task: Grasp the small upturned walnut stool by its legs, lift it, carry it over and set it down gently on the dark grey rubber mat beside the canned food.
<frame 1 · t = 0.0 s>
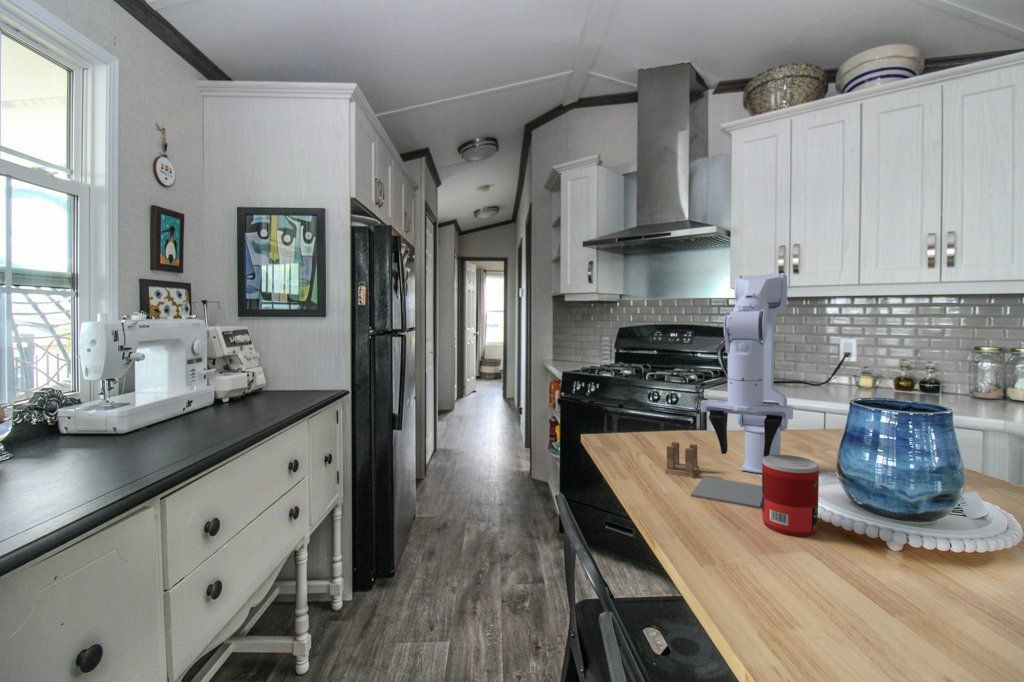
hand: (745, 455, 85), 10 cm above the kitchen island, tool pointing down, fingers open, 6 cm apart
stool: (682, 473, 108), on the kitchen island
mat: (729, 492, 95), on the kitchen island
canned food: (789, 527, 79), on the kitchen island, touching gripper
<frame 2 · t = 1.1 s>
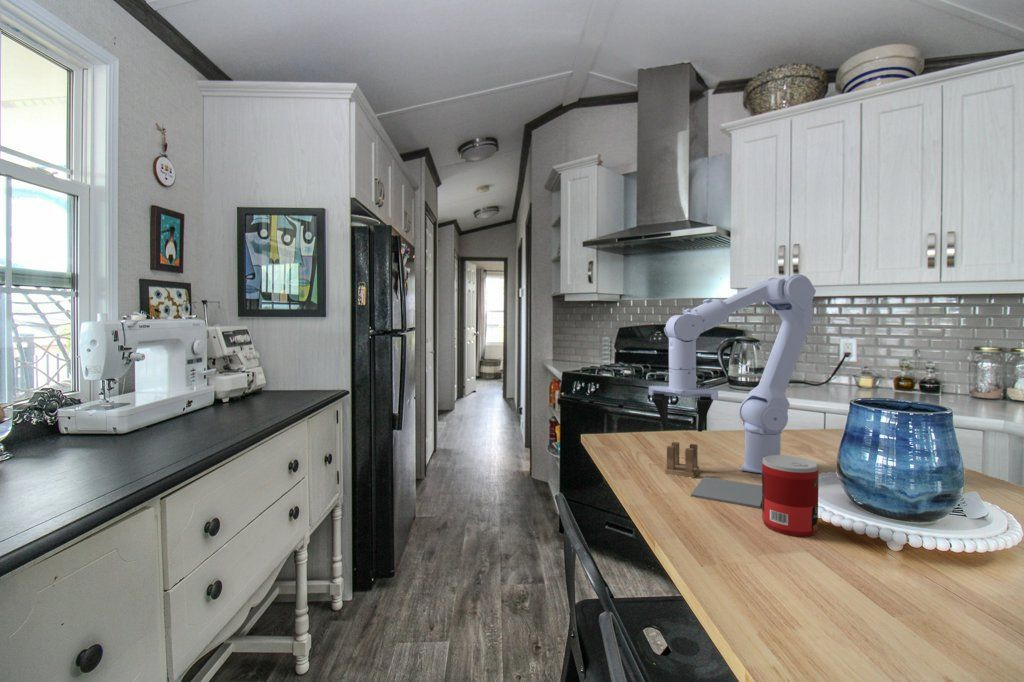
hand: (682, 428, 107), 10 cm above the kitchen island, tool pointing down, fingers open, 7 cm apart
canned food: (789, 528, 79), on the kitchen island
everything else where it was.
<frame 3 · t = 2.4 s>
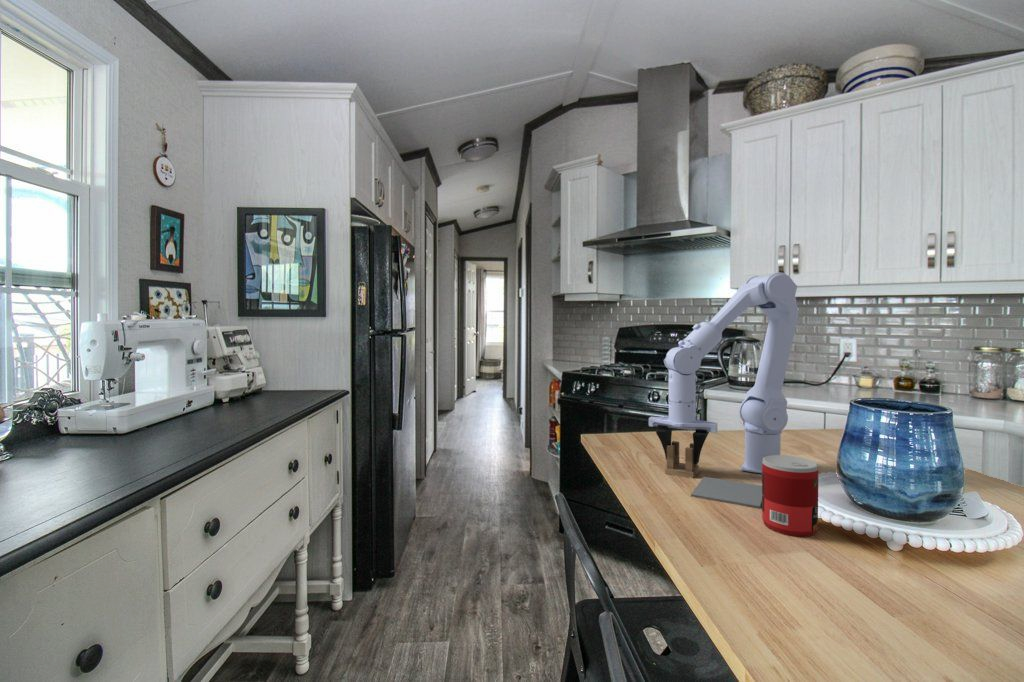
hand: (682, 460, 107), 3 cm above the kitchen island, tool pointing down, fingers closed on stool, 5 cm apart
stool: (682, 472, 108), on the kitchen island, touching gripper
everything else where it was.
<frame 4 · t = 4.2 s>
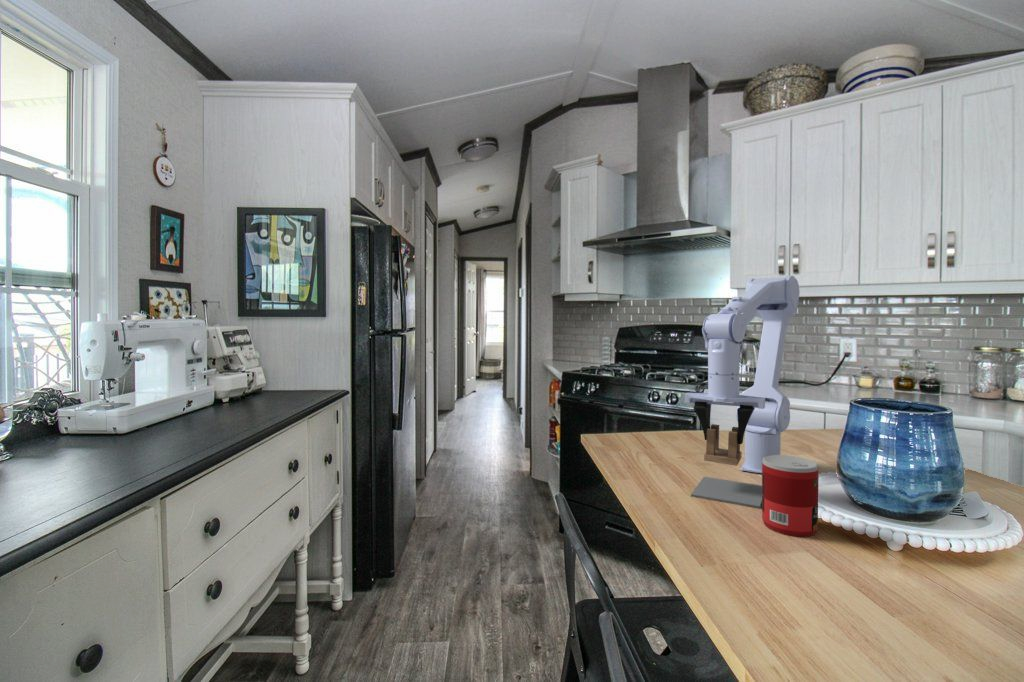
hand: (723, 441, 96), 10 cm above the kitchen island, tool pointing down, fingers closed on stool, 5 cm apart
stool: (723, 458, 96), point 6 cm above the kitchen island, touching gripper
everything else where it was.
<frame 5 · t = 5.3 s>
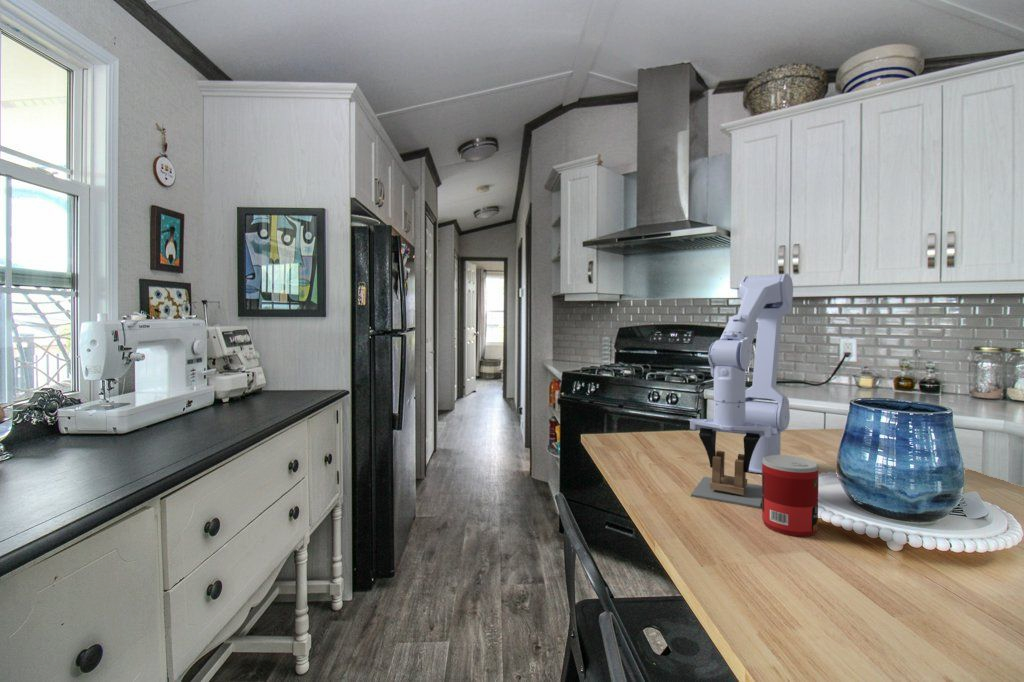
hand: (729, 468, 95), 5 cm above the kitchen island, tool pointing down, fingers closed on stool, 5 cm apart
stool: (728, 486, 95), point 1 cm above the kitchen island, touching gripper
everything else where it was.
when the fingers open (3 cm above the kitchen island, at t = 6.2 s): stool stays where it is, resting on mat.
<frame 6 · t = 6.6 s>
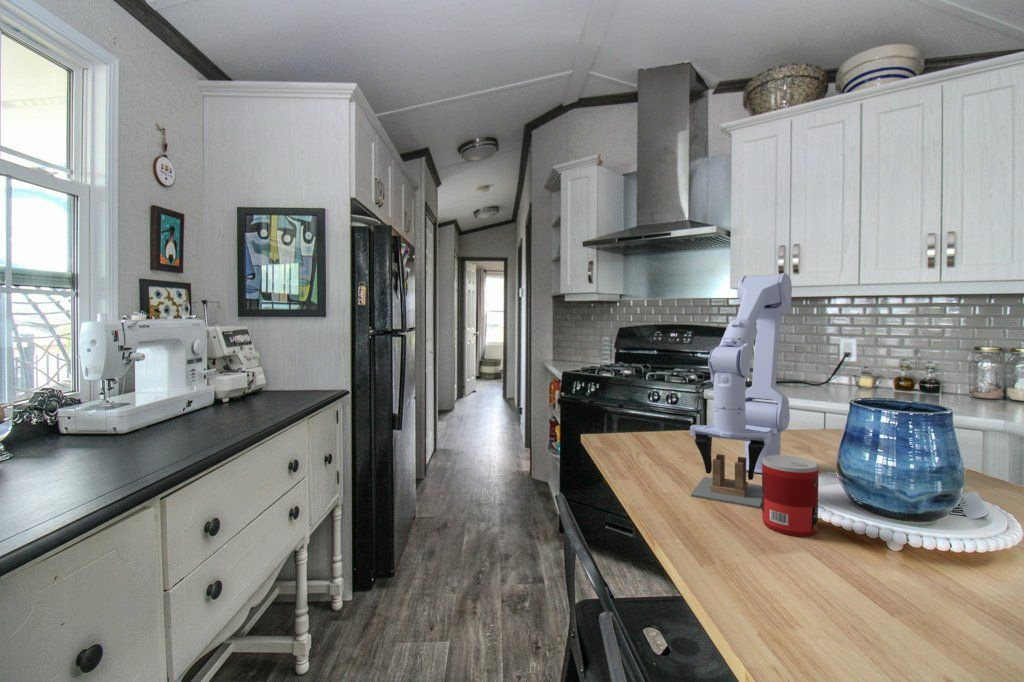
hand: (729, 475, 95), 3 cm above the kitchen island, tool pointing down, fingers open, 7 cm apart
stool: (729, 489, 95), resting on mat
everything else where it was.
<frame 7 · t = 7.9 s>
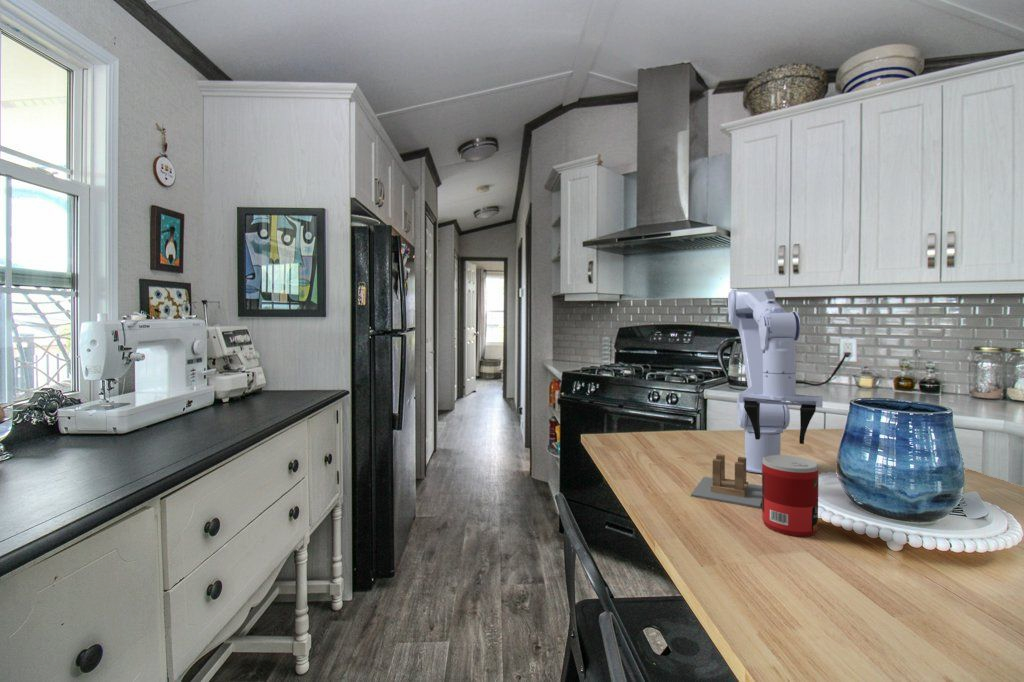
hand: (779, 440, 95), 10 cm above the kitchen island, tool pointing down, fingers open, 7 cm apart
nothing on the kitchen island moved.
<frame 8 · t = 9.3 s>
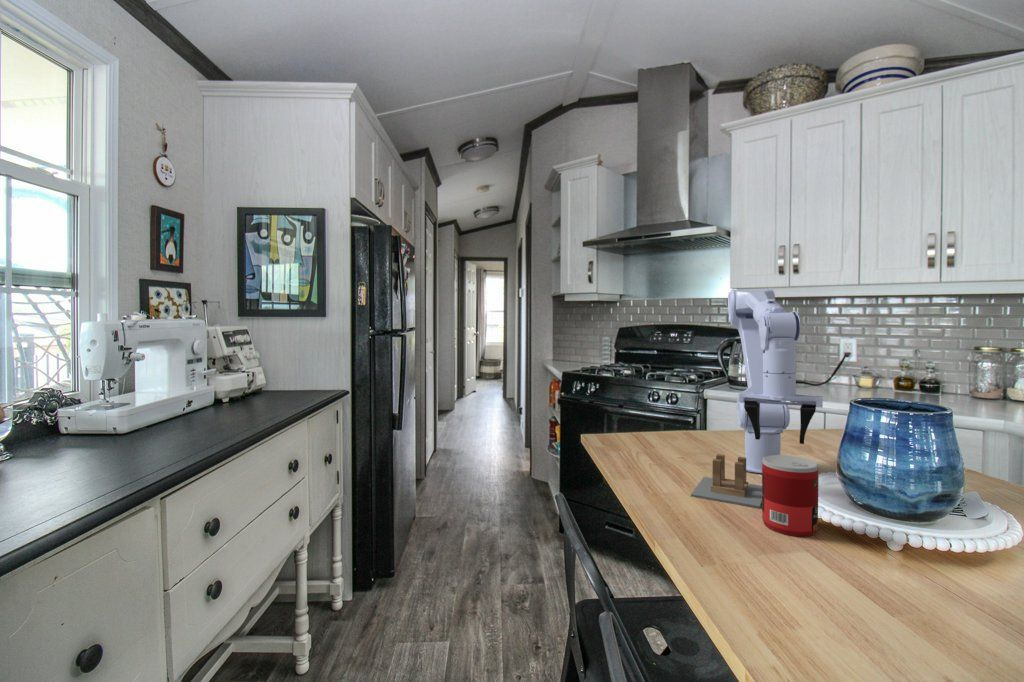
hand: (779, 440, 95), 10 cm above the kitchen island, tool pointing down, fingers open, 7 cm apart
nothing on the kitchen island moved.
at the end: stool inside the target area on the mat (0.2 cm from its centre), point 0.4 cm above the mat's base; stool tilted 0°; the gripper is holding nothing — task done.
